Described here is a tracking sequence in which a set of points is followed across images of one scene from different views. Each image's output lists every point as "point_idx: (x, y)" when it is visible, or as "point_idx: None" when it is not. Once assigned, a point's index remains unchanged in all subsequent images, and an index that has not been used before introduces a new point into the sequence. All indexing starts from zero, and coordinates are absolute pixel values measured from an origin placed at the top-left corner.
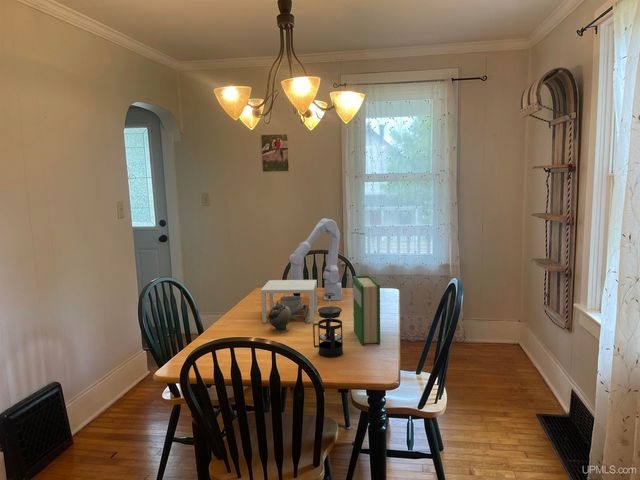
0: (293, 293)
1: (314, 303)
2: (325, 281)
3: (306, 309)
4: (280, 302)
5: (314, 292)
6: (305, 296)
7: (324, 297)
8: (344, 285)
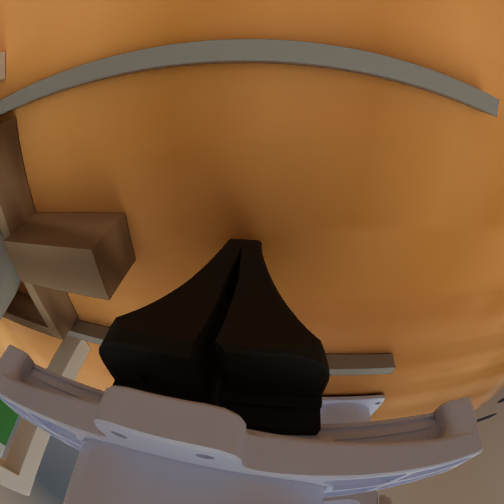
0: (166, 298)
1: (51, 369)
2: (342, 502)
3: (3, 315)
4: (137, 61)
5: (26, 423)
6: (452, 302)
7: (342, 401)
8: (500, 401)
